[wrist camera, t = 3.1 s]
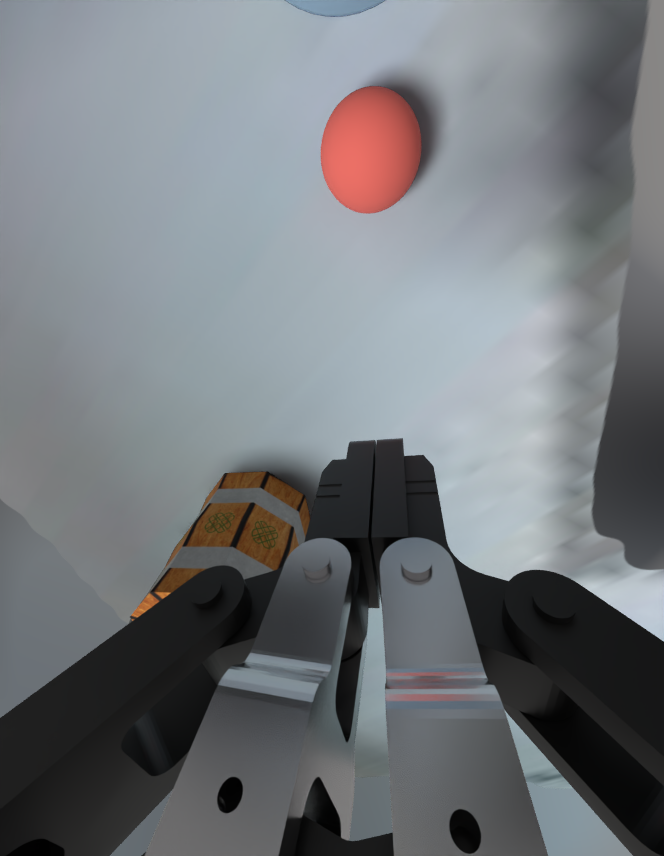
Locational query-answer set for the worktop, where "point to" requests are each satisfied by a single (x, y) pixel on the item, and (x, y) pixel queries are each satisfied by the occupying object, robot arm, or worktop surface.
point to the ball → (371, 149)
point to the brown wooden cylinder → (236, 532)
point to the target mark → (334, 6)
